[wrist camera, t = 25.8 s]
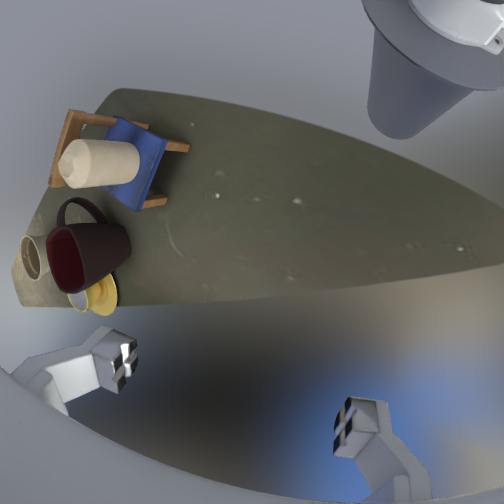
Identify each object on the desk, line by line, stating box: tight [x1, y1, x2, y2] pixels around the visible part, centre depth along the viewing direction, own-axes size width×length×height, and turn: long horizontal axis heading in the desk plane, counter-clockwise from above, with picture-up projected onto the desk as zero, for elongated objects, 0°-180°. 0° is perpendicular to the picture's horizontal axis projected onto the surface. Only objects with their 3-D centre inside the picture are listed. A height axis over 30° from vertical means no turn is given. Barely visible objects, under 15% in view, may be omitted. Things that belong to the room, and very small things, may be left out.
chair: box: [48, 109, 190, 212], centre depth 35 cm, size 10×10×15 cm
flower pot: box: [20, 235, 50, 281], centre depth 51 cm, size 9×9×9 cm
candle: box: [58, 139, 140, 188], centre depth 31 cm, size 6×6×10 cm
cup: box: [67, 273, 117, 316], centre depth 49 cm, size 12×12×5 cm
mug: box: [46, 197, 130, 294], centre depth 42 cm, size 10×14×12 cm
